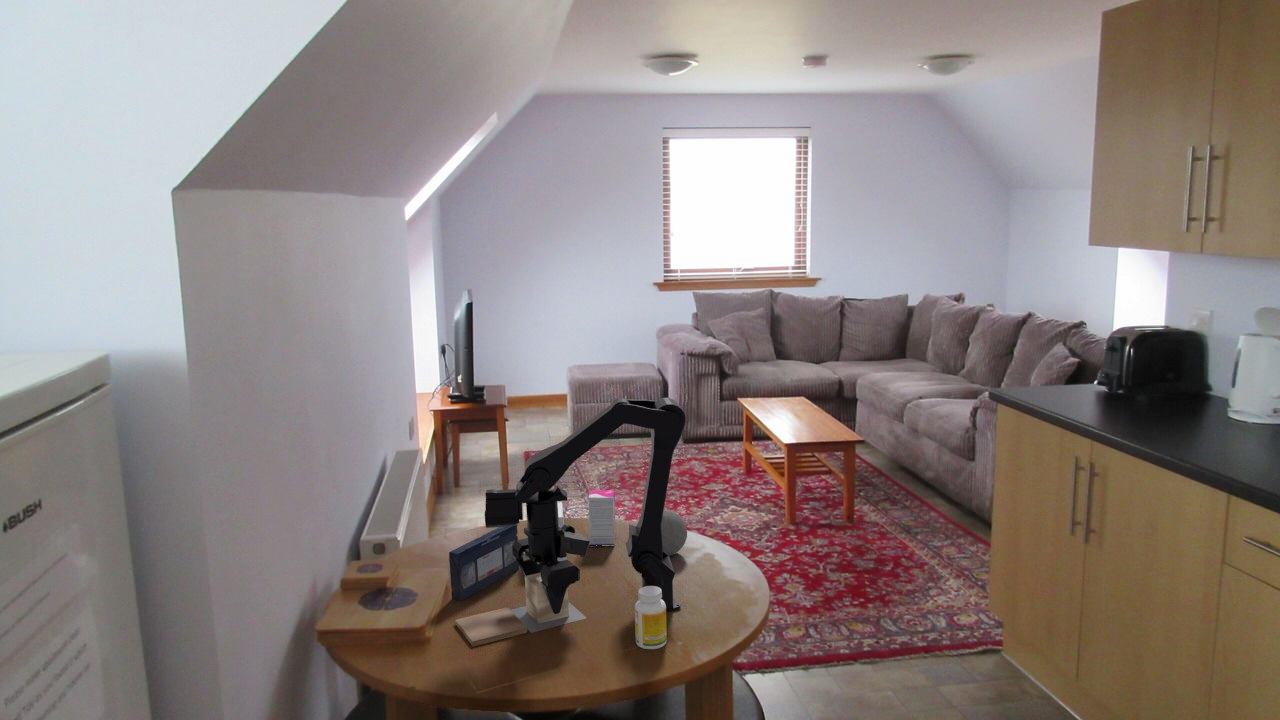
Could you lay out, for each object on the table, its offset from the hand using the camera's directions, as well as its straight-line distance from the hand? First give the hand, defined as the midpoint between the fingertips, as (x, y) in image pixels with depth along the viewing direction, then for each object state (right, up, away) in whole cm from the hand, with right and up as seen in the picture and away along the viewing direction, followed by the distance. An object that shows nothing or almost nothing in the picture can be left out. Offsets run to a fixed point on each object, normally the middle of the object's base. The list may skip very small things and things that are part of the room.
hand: (547, 604), depth 169 cm
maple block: (0, -2, 0) cm, 2 cm away
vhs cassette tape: (-14, 0, +16) cm, 21 cm away
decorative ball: (+23, +3, +28) cm, 36 cm away
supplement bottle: (+19, -4, -12) cm, 23 cm away
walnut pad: (-10, -3, -5) cm, 11 cm away
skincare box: (-2, +2, +29) cm, 30 cm away
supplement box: (+9, +4, +36) cm, 38 cm away
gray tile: (0, -2, 0) cm, 2 cm away
